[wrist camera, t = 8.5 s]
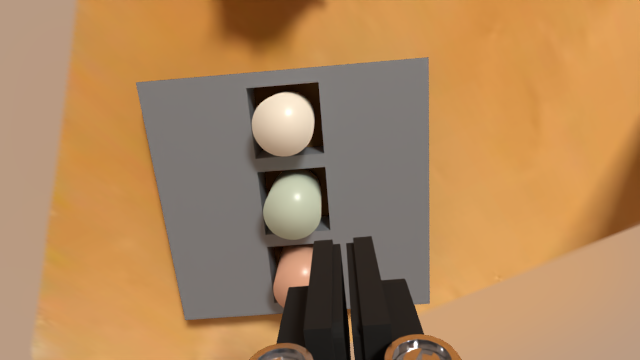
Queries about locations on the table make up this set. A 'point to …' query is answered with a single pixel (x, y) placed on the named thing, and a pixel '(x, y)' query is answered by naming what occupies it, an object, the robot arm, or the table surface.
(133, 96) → the table surface
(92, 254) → the table surface
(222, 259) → the panel
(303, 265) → the pink egg
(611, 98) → the table surface
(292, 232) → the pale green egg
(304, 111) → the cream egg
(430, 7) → the table surface
